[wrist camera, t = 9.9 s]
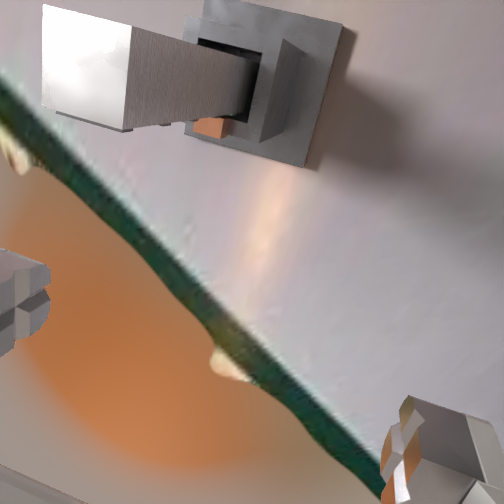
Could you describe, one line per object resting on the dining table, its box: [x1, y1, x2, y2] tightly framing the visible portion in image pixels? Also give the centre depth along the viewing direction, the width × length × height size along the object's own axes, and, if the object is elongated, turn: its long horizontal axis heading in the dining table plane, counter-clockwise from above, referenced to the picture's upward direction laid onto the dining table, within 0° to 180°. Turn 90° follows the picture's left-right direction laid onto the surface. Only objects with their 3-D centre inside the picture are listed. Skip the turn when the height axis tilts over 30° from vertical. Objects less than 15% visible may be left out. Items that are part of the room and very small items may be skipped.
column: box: [42, 5, 260, 133], centre depth 27 cm, size 4×4×22 cm
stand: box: [180, 0, 343, 168], centre depth 38 cm, size 14×14×14 cm
